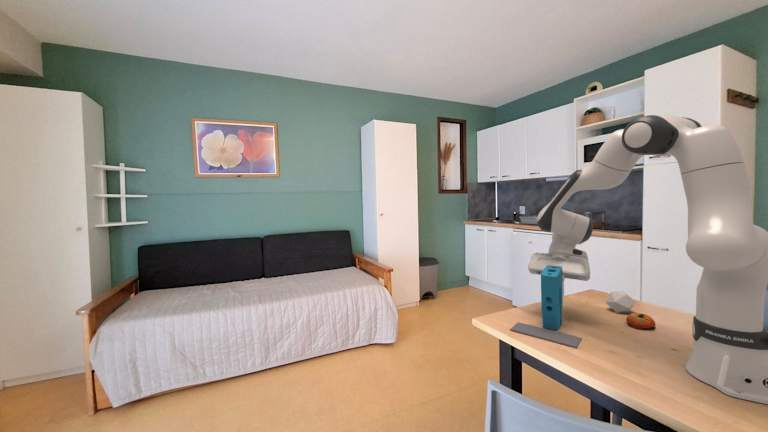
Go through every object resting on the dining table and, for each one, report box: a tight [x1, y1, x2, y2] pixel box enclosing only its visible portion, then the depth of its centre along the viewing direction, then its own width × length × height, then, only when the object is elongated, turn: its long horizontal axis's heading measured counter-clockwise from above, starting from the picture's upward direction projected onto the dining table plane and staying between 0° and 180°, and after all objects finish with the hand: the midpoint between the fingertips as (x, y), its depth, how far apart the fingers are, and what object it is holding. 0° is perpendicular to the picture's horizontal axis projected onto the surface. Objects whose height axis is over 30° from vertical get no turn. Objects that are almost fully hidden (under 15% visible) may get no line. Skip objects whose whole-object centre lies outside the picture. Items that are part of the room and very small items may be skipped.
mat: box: [509, 321, 583, 349], centre depth 102 cm, size 20×8×1 cm, turn 48°
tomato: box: [625, 312, 656, 330], centre depth 108 cm, size 8×7×7 cm
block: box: [540, 265, 564, 331], centre depth 109 cm, size 12×5×20 cm, turn 141°
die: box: [605, 290, 636, 314], centre depth 122 cm, size 8×9×10 cm
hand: (554, 285), depth 110 cm, fingers closed
